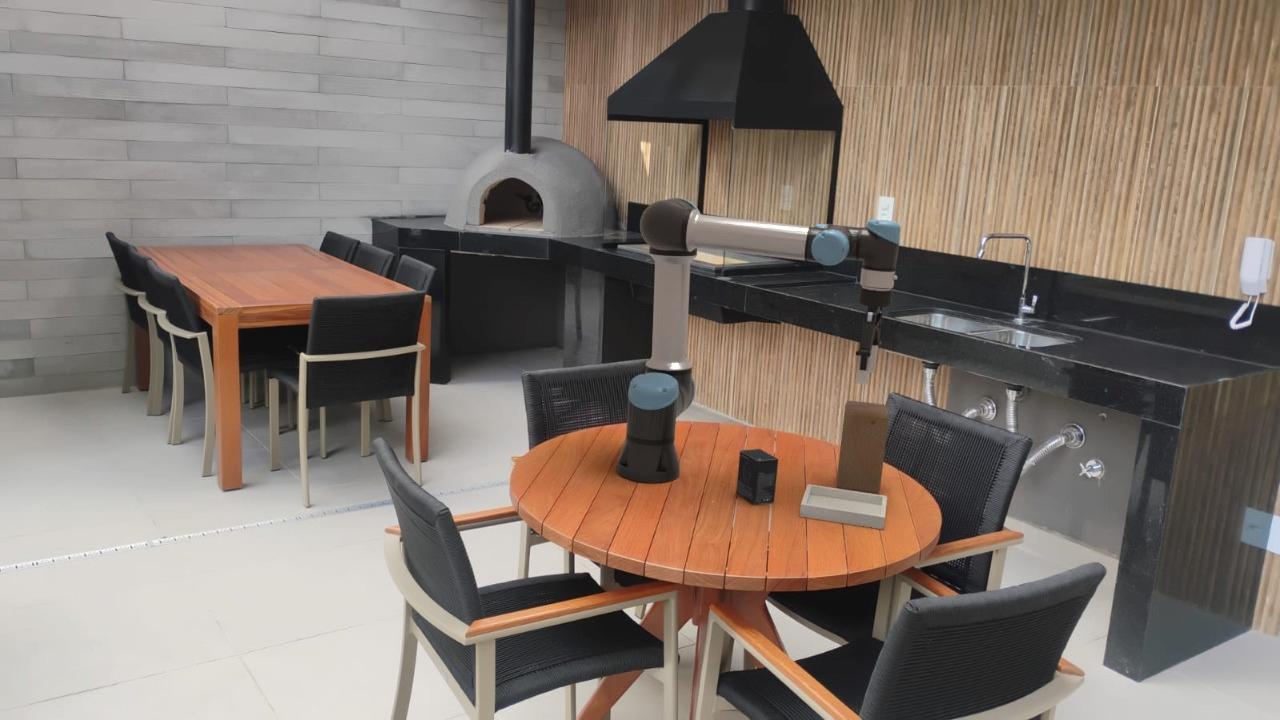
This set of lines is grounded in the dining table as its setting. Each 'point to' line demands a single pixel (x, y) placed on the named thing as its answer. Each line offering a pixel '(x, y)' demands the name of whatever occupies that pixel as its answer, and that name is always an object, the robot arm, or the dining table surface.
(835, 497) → the tray
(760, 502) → the box
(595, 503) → the dining table surface
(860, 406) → the wooden block
